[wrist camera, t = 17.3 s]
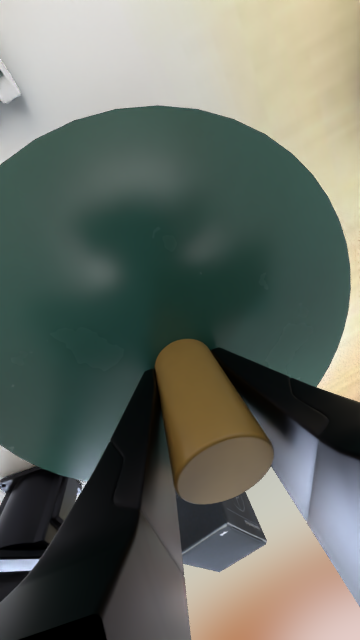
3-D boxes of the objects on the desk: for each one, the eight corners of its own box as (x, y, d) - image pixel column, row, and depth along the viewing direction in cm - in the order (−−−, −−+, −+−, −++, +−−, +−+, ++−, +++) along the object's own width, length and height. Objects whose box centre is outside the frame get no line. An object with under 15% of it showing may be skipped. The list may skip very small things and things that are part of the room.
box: (154, 434, 24) (168, 563, 15) (191, 408, 24) (229, 523, 14) (189, 459, 28) (219, 576, 18) (222, 436, 27) (270, 544, 18)
